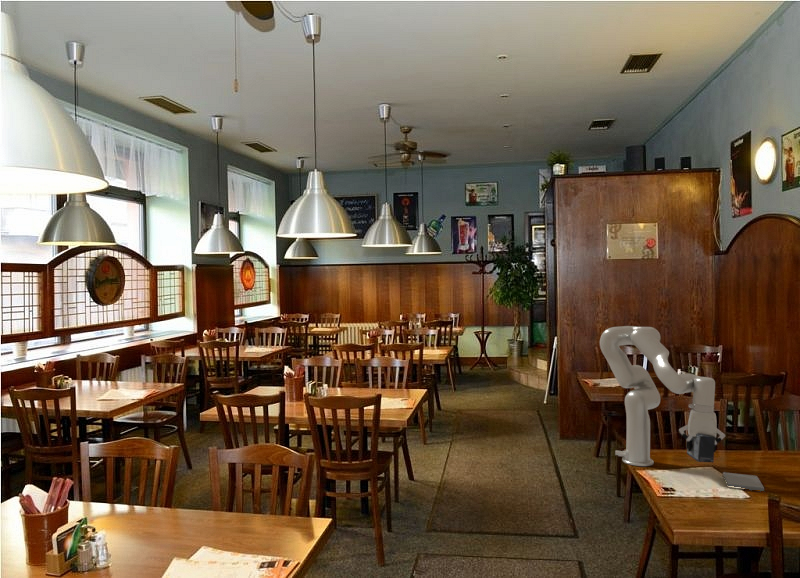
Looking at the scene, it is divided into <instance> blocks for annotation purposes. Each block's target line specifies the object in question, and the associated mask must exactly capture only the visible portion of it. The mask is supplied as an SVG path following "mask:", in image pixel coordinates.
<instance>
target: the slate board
mask: <svg viewBox="0 0 800 578" xmlns="http://www.w3.org/2000/svg"><path fill="white" fill-rule="evenodd" d="M723 475H724V477H723V479H724V478H725V480H726V482H727V484H726V486H727V485H728V486H734V487H741V488H745V489H749V490H748V491H752V490H760V491H759V492H761V491H764V492H765V487H764V485H763V484H762V482H761V480H760V478H759V477H758V476H757V475H753V474H744V473H743V474H742V473H734V472H733V473H732V472H726V471H723V472H722V476H723ZM725 480H724V481H725ZM726 482H725V483H726Z"/></svg>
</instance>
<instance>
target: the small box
mask: <svg viewBox="0 0 800 578" xmlns="http://www.w3.org/2000/svg"><path fill="white" fill-rule="evenodd" d="M715 439H716V438H715V436H711V435H704V434H696V437H692V438H691V440H690V441H691V451H690V452H689V451H688V449H686V455H688V456H689V457H690V458H692V459H693V460H695V461H696V462H698V463H714V460H715V459H714V458H715V452H714V447H715Z"/></svg>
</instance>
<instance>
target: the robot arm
mask: <svg viewBox="0 0 800 578" xmlns="http://www.w3.org/2000/svg"><path fill="white" fill-rule="evenodd" d="M629 345H630V346H635V347H636V349H638V350H639V351H640V352H641V353H642V355H643V356H644V357H645V358H646V359H647V360H648V361H649V362H650V363H651V364H652V366H653V370H654V373H655V375H656V377H657V378H658V379H659V381H660V382H661V383H662V384H663V385H664V386H665V387H666V388H667V389H668V390H669V391H670V392H671V393H674V394H677V395H681V394H685V393H693V395H692V403H688V408H690V412H689V416H688V422H687V424H686V425H684V426H681V427H680V428H679V429H678V432H679V433H680V435H681V436H682V437H683V438H684V439H685V441H686V446H685V447H686V450H687V449H688V451H689V452H690V451H691V441H690V440H691V438H692V437H696V434H704V435H711V436H715V447H714V453H716V452H717V451H716V450H717V445H718V444H719V443H721V441H722V440H723V439H724V438H725V437H726V434H725V433H723V432H722V431H721V430H720V429H718V427H717V425H718V424H717V415H716V413H715V409H714V408H715V393H716V381H715V379H714V378H712V377H707V376H699V375H696V374H693V373H681V374H680V373H677V371H676V370H675V369H674V368H673V367H672V365H671V364H670V363H669V355H670V351H669V350H668V349H667V348H666V346H665V345H664V344H663V343H661V334H660V332H659V331H658V330H657V328H655V327H652V326H636V325H635V326H634V325H624V326H623V325H622V326H613V327H609V328H607V329H605V330H604V331H603V332H602V334H601V336H600V339H599V348H600V350H601V353H602V355H603V356H604V358H605V359H606V361H607V363H608V365H609V367H610V370H611V371H612V373H613V375H614V378H615V379H616V382H617V383H618V385H619V386H620V387H621V388H623V389H632V388H633V389H632V390H630V391H628V392H627V394H626V395H625V397H624V406H625V413H626V414H625V415H626V441H625V443H626V444H625V447H626V449H624V450H622V451H621V450H617V449H616V450H615V453H614V455H615V456H617V457H622V462H623V463H624V464H627V465H630V466H637V467H651V466H653V465H654V460H653V459H652V458H651V454H650V453H651V419H650V415H649V411H648V410H653V409H655V408H657V407H659V405H660V404H661V395H660V392H659V390H658V389H657V387H656V384H655V382H654V380H653V379H652V377H651V375H650V373H649V371H648V370H647V369H646V368H645V367H643V366H642V365H639V364H633V365H632V363H631V361H630V359H629V358H628V356H627V354H626V353H625V351H624V350H622V349H621V348H620V346H629ZM686 430H687V433H688V434H687V433H685V431H686ZM717 435H719V436H718V437H717Z"/></svg>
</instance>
